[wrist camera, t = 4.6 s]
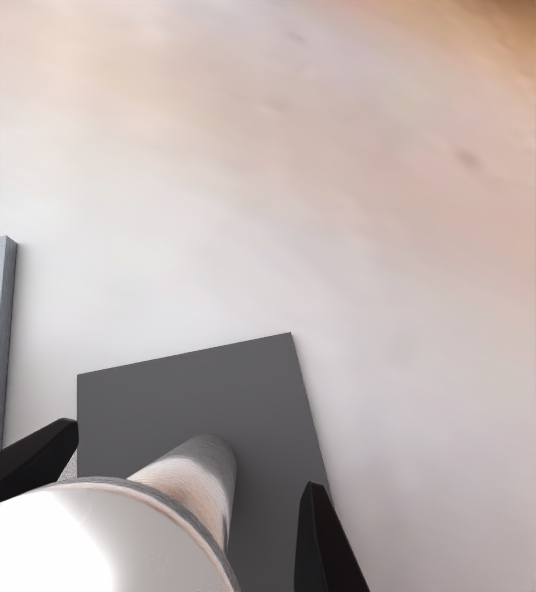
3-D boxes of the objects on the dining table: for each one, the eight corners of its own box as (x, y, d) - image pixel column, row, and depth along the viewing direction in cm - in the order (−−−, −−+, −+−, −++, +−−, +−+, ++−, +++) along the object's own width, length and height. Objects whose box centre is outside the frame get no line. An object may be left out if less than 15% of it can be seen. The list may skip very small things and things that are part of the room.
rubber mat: (348, 574, 13) (352, 579, 13) (83, 662, 11) (77, 671, 11) (289, 333, 17) (290, 332, 16) (81, 375, 15) (76, 374, 15)
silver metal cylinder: (263, 451, 14) (337, 641, 3) (216, 541, 13) (-7, 1600, 1) (193, 406, 14) (16, 412, 3) (141, 488, 13) (-467, 982, 2)
